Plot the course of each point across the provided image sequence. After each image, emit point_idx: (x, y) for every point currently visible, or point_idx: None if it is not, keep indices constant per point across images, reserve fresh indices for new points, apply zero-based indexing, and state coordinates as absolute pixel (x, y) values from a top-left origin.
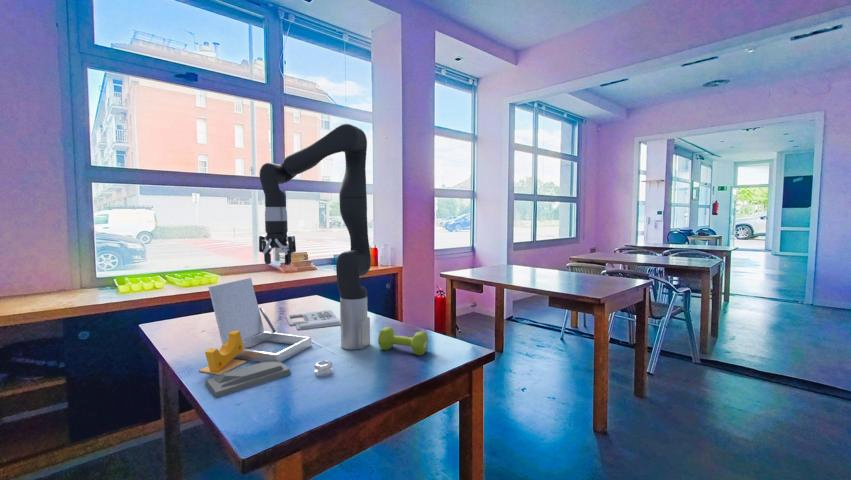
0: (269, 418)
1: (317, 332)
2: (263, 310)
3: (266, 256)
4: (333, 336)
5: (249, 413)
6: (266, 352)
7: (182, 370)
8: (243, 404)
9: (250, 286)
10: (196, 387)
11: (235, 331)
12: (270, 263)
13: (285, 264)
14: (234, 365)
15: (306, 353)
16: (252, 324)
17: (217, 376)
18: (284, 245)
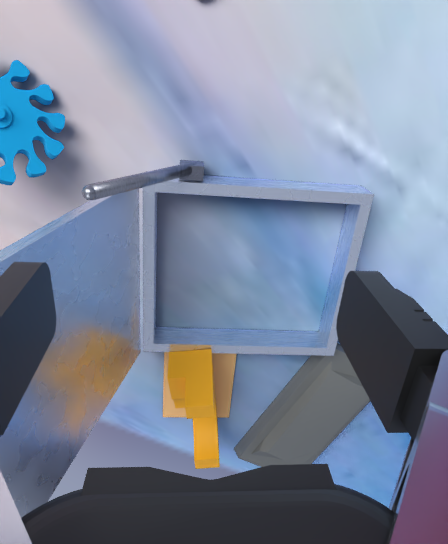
0: None
1: (316, 12)
2: (110, 189)
3: (15, 405)
4: (411, 52)
5: (384, 486)
6: (295, 349)
7: (118, 420)
8: (358, 473)
9: None
10: (226, 459)
11: (201, 408)
12: (48, 267)
13: (342, 333)
14: (226, 378)
15: (372, 251)
16: (121, 246)
17: (257, 452)
18: (407, 507)
